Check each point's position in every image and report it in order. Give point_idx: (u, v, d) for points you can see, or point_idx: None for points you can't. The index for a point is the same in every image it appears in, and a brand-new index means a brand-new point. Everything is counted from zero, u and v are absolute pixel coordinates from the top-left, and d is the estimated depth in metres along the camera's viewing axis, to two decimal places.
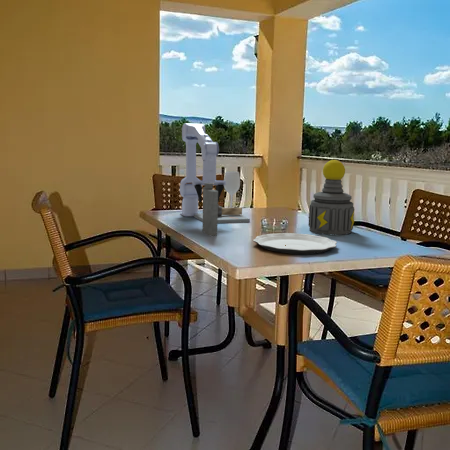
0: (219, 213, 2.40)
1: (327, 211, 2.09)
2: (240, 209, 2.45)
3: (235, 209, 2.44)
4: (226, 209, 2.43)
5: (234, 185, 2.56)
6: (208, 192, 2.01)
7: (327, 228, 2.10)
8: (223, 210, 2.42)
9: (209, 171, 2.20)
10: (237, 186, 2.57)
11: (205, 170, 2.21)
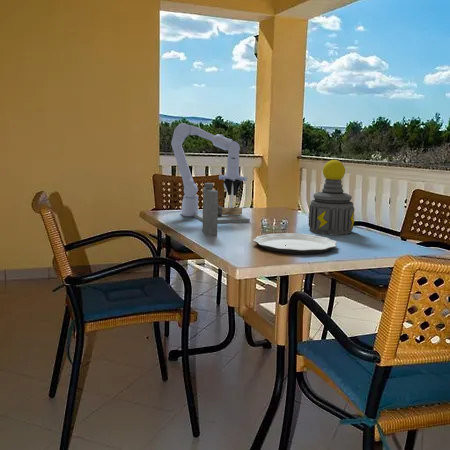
0: (219, 213, 2.40)
1: (327, 211, 2.09)
2: (240, 209, 2.45)
3: (235, 209, 2.44)
4: (226, 209, 2.43)
5: None
6: (208, 192, 2.01)
7: (327, 228, 2.10)
8: (223, 210, 2.42)
9: (229, 167, 2.46)
10: None
11: (227, 166, 2.48)
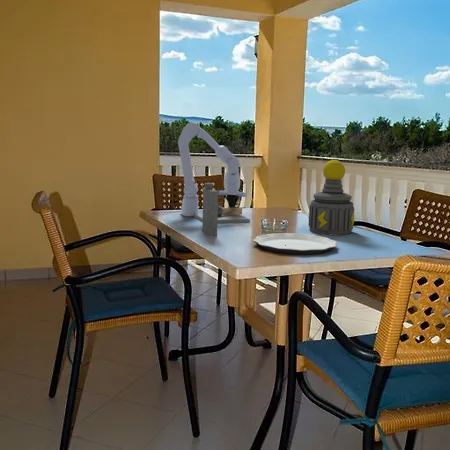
0: (219, 213, 2.40)
1: (327, 211, 2.09)
2: (240, 209, 2.45)
3: (235, 209, 2.44)
4: (226, 209, 2.43)
5: None
6: (208, 192, 2.01)
7: (327, 228, 2.10)
8: (223, 210, 2.42)
9: (228, 183, 2.47)
10: None
11: (227, 182, 2.49)
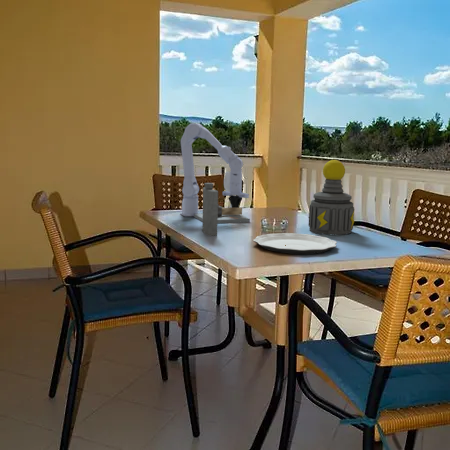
0: (219, 213, 2.40)
1: (327, 211, 2.09)
2: (240, 209, 2.45)
3: (235, 209, 2.44)
4: (226, 209, 2.43)
5: None
6: (208, 192, 2.01)
7: (327, 228, 2.10)
8: (223, 210, 2.42)
9: (231, 184, 2.44)
10: None
11: None
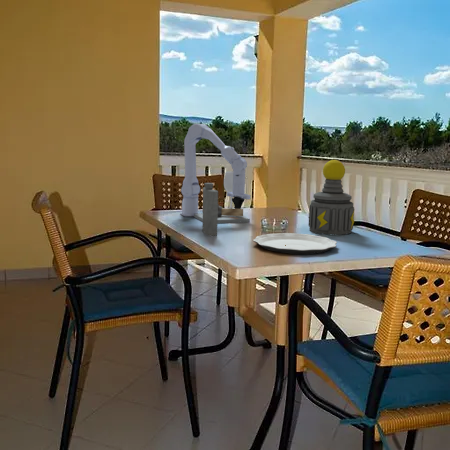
0: None
1: (327, 211, 2.09)
2: (241, 210, 2.40)
3: (235, 210, 2.41)
4: (226, 210, 2.41)
5: None
6: (208, 192, 2.01)
7: (327, 228, 2.10)
8: (223, 210, 2.41)
9: (233, 184, 2.40)
10: None
11: None
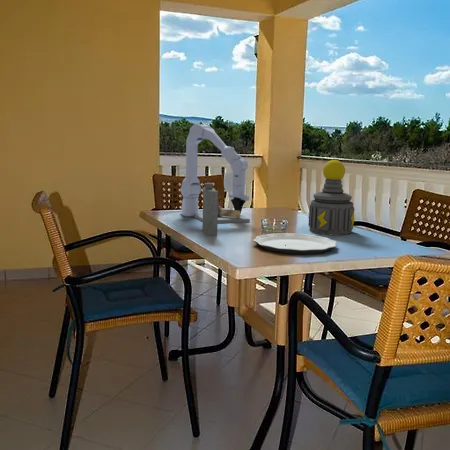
0: None
1: (327, 211, 2.09)
2: (236, 212, 2.35)
3: (232, 211, 2.36)
4: (223, 210, 2.39)
5: None
6: (208, 192, 2.01)
7: (327, 228, 2.10)
8: (221, 211, 2.40)
9: None
10: None
11: None
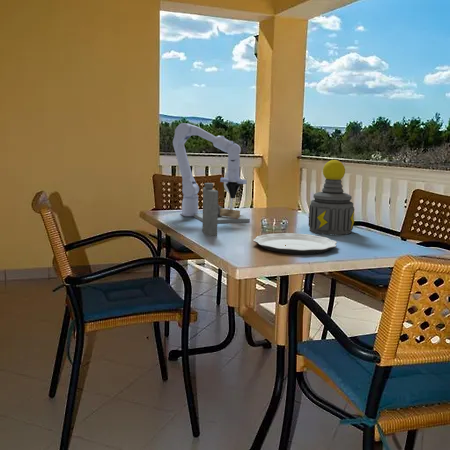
0: None
1: (327, 211, 2.09)
2: (236, 212, 2.35)
3: (232, 211, 2.36)
4: (223, 210, 2.39)
5: None
6: (208, 192, 2.01)
7: (327, 228, 2.10)
8: (221, 211, 2.40)
9: (228, 170, 2.43)
10: None
11: None
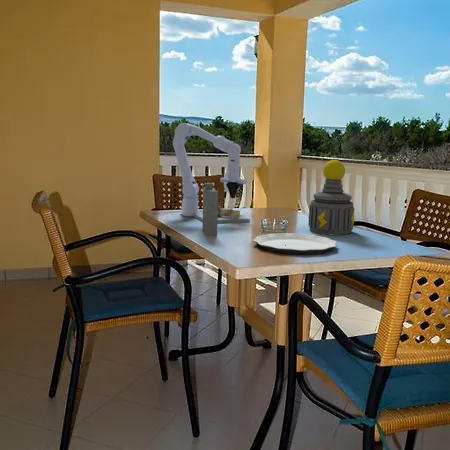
0: None
1: (327, 211, 2.09)
2: (236, 212, 2.35)
3: (232, 211, 2.36)
4: (223, 210, 2.39)
5: None
6: (208, 192, 2.01)
7: (327, 228, 2.10)
8: (221, 211, 2.40)
9: (228, 170, 2.43)
10: None
11: None
